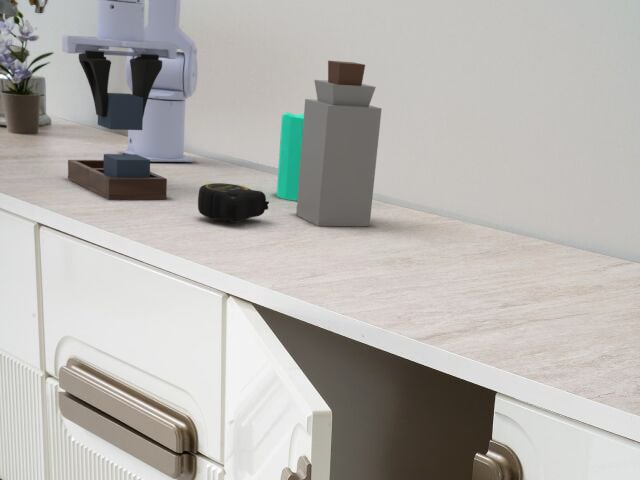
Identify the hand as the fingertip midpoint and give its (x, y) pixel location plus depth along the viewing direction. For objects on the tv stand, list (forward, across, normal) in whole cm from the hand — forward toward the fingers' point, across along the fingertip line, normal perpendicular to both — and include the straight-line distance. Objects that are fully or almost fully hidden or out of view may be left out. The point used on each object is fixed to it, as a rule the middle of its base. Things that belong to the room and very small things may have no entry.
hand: (119, 116), depth 144 cm
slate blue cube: (+1, 0, 0) cm, 1 cm away
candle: (+9, +21, -11) cm, 25 cm away
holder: (+8, -2, -4) cm, 10 cm away
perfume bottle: (+9, +17, -26) cm, 32 cm away
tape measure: (+9, +4, -25) cm, 27 cm away
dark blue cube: (+8, -2, -8) cm, 11 cm away
